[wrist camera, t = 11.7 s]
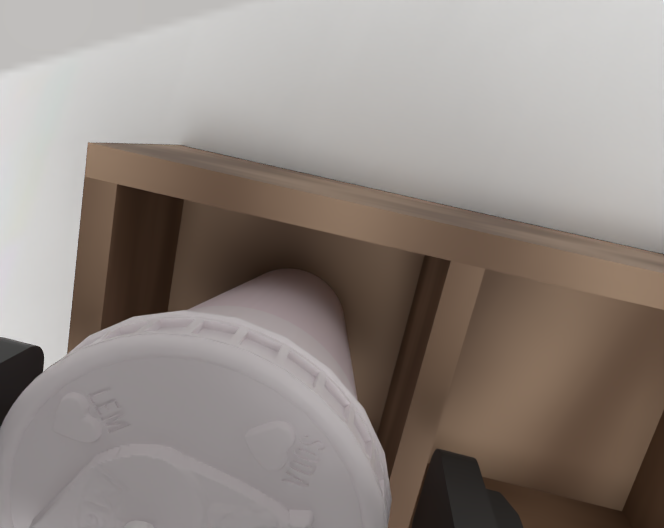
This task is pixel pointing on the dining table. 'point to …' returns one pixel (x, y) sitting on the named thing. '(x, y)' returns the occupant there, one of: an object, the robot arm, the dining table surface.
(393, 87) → the dining table surface
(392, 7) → the dining table surface
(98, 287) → the bottle caddy
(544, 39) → the dining table surface
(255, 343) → the smoothie
